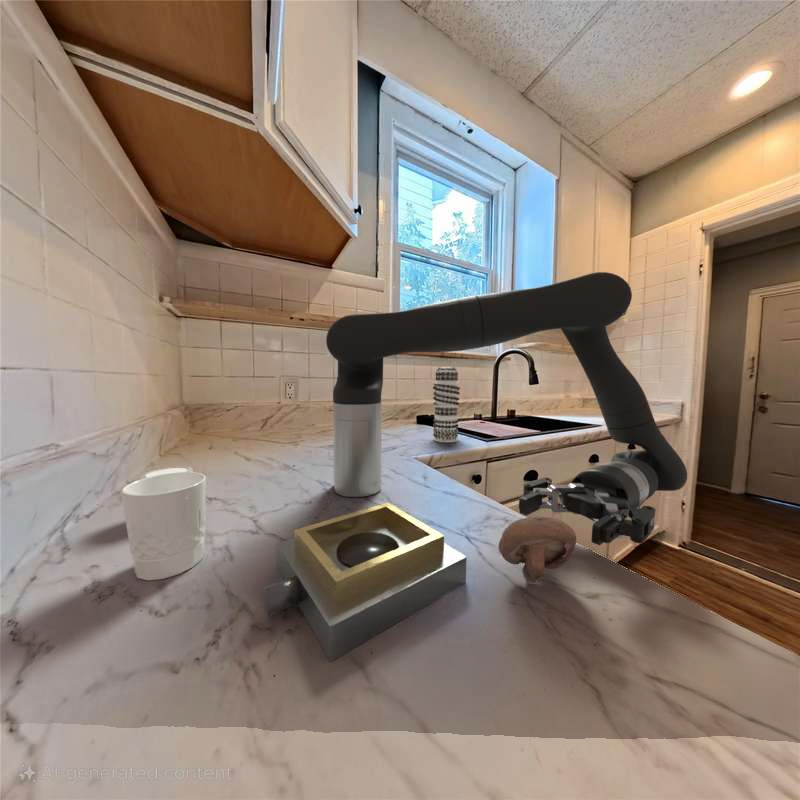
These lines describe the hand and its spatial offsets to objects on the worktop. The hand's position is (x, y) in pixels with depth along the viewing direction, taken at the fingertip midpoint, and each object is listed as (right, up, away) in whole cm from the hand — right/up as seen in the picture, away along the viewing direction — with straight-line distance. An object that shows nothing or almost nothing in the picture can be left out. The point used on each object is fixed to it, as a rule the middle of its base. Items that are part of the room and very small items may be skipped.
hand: (555, 520), depth 37 cm
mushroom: (-3, -6, -2) cm, 8 cm away
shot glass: (-55, -5, +14) cm, 57 cm away
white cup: (-46, -6, +1) cm, 46 cm away
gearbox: (-24, -6, -1) cm, 24 cm away
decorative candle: (-2, 0, +72) cm, 72 cm away
